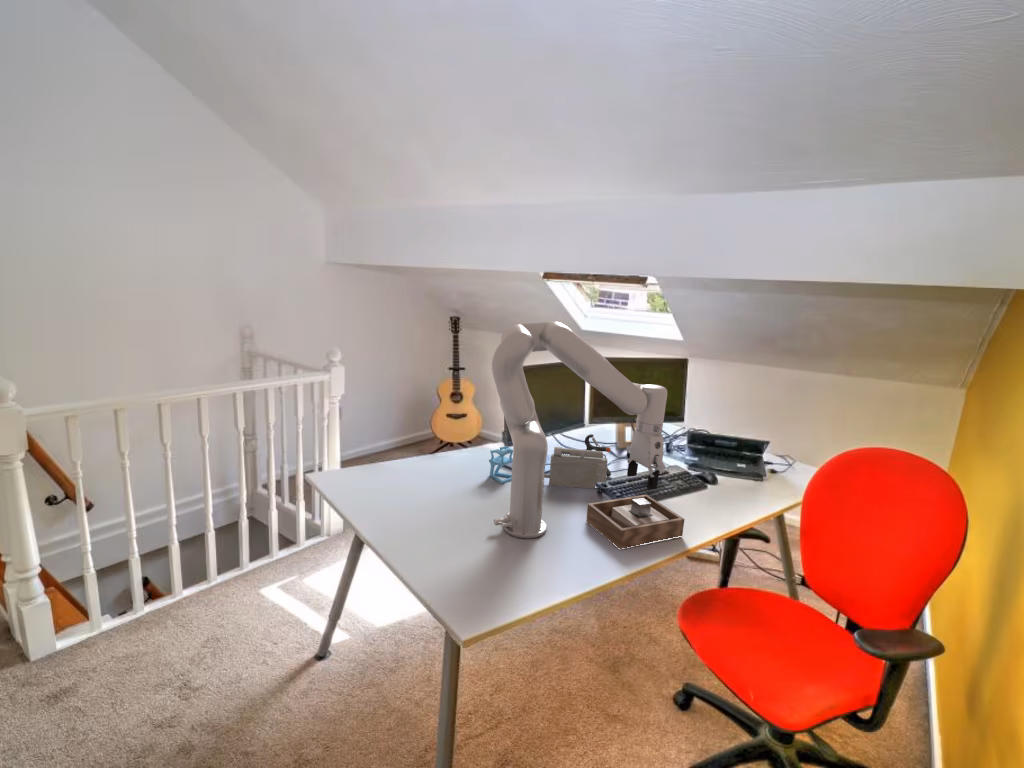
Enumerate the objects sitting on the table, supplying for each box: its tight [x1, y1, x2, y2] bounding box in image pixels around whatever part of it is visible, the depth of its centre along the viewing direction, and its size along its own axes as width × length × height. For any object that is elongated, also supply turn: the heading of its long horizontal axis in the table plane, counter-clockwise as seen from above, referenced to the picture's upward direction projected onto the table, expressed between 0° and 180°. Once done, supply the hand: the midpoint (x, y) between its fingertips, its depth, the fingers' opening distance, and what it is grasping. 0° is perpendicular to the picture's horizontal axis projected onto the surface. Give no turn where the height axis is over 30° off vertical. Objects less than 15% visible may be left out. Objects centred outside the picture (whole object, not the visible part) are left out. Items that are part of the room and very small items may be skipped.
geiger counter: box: [544, 446, 608, 489], centre depth 195 cm, size 14×6×25 cm
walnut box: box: [586, 494, 685, 549], centre depth 165 cm, size 22×18×6 cm
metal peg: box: [631, 498, 651, 519], centre depth 165 cm, size 4×4×8 cm
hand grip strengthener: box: [584, 433, 612, 478], centre depth 207 cm, size 2×13×15 cm, turn 58°
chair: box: [488, 445, 513, 485], centre depth 199 cm, size 8×8×12 cm
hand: (641, 482), depth 163 cm, fingers open, 9 cm apart
